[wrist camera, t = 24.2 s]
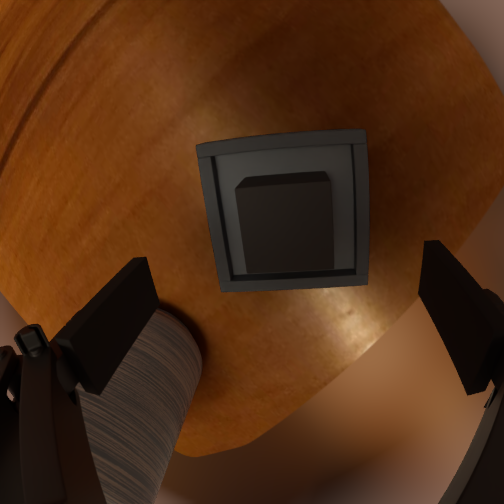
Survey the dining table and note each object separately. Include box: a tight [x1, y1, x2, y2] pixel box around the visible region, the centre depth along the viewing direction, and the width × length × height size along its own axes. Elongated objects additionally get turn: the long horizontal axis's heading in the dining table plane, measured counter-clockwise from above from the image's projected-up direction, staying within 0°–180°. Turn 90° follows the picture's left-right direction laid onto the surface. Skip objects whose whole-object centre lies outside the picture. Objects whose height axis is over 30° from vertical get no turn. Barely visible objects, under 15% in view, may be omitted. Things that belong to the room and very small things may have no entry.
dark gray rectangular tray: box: [196, 129, 370, 292], centre depth 23 cm, size 12×12×2 cm
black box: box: [235, 171, 334, 274], centre depth 22 cm, size 6×6×4 cm
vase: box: [75, 308, 202, 504], centre depth 22 cm, size 12×12×23 cm
